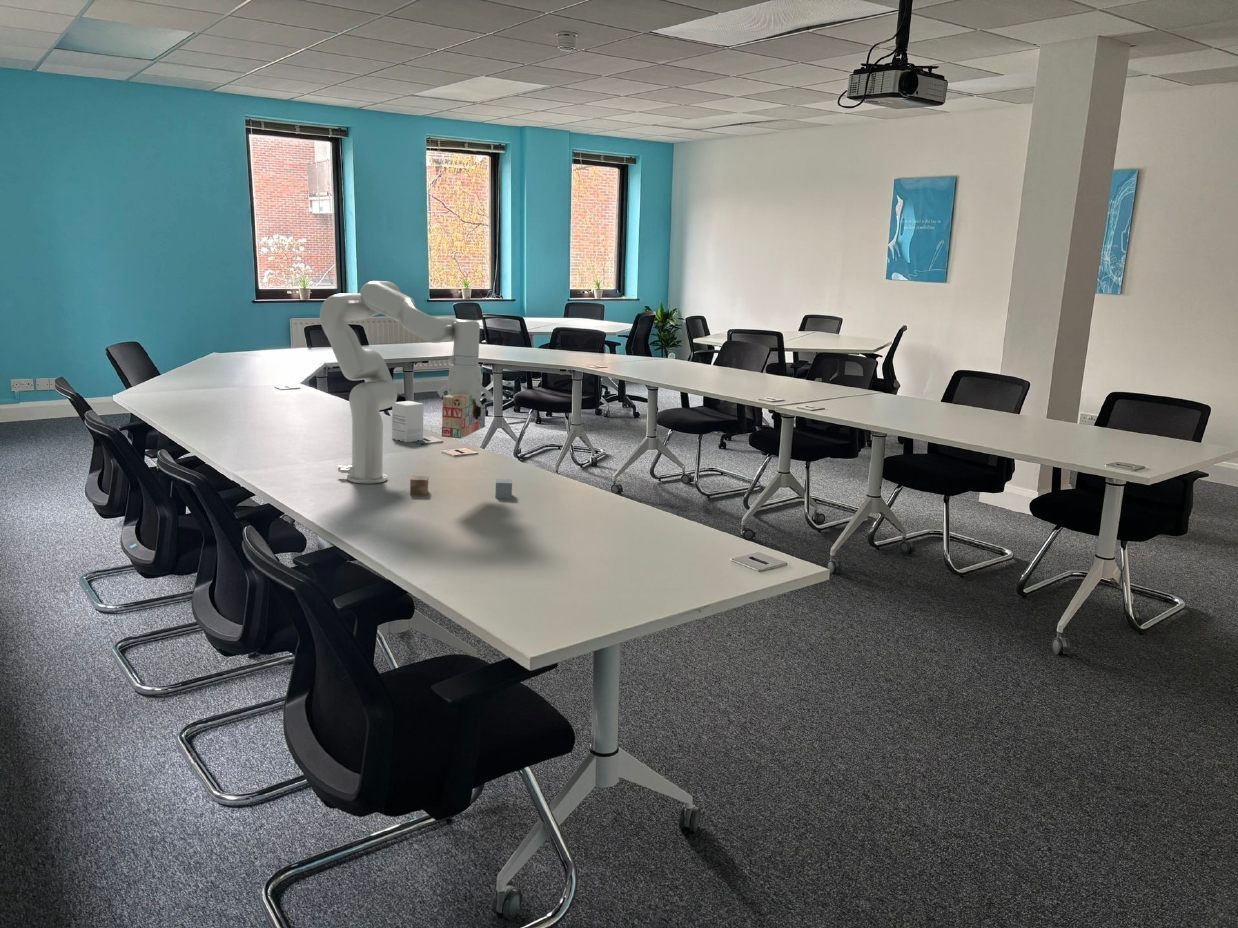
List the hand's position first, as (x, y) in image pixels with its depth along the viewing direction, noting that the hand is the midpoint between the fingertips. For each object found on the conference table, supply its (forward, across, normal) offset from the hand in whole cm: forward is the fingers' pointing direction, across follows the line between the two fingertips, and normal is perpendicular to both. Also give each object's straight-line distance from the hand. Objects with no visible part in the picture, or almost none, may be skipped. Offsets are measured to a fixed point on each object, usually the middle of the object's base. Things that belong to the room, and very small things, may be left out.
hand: (463, 417), depth 272 cm
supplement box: (+25, -26, +83) cm, 90 cm away
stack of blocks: (+5, 0, 0) cm, 5 cm away
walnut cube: (+24, -13, -1) cm, 27 cm away
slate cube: (+24, +13, -1) cm, 28 cm away
